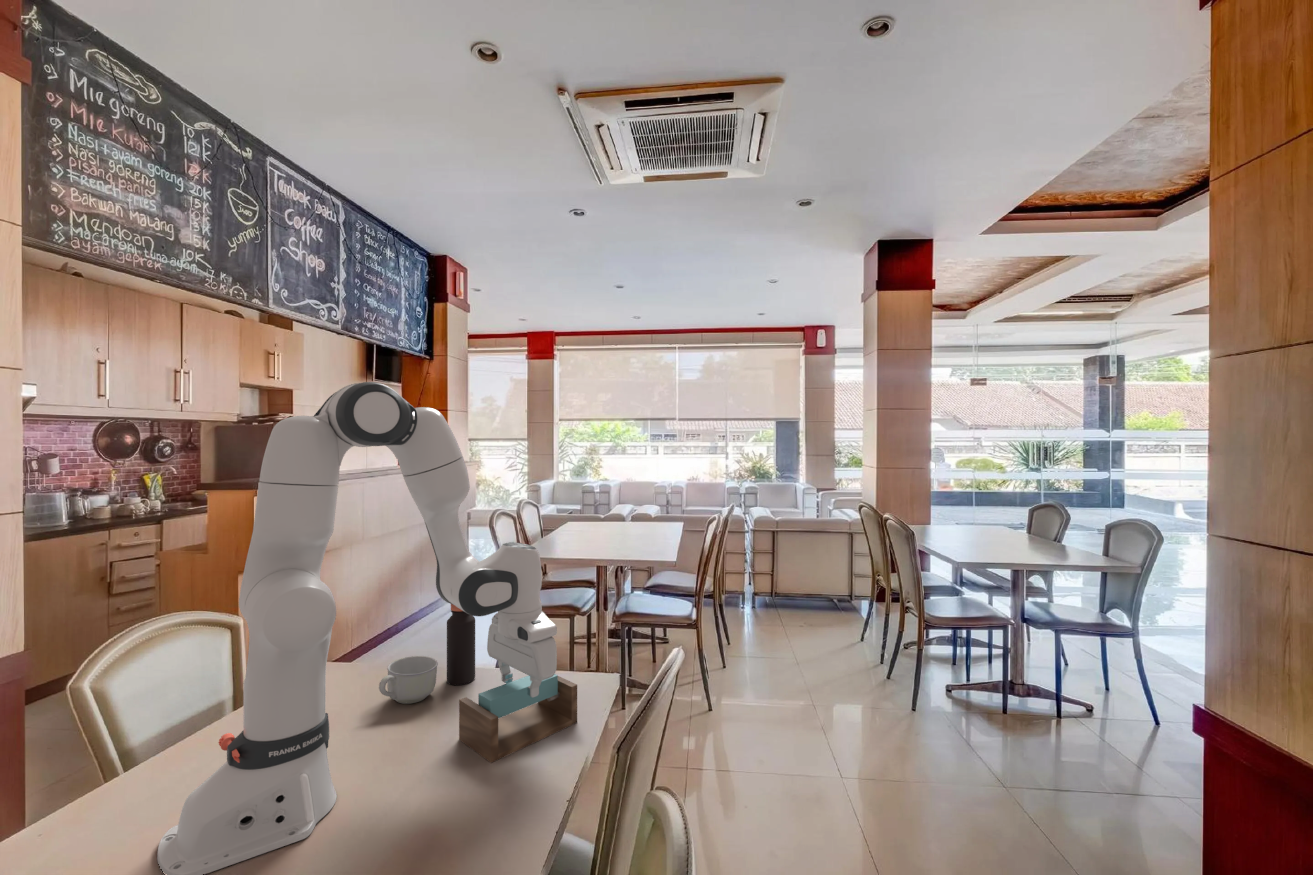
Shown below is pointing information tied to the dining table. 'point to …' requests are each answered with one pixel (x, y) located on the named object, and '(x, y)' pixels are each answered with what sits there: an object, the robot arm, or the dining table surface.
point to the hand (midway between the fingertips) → (519, 688)
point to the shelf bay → (516, 723)
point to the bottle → (460, 647)
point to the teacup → (410, 679)
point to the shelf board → (516, 695)
